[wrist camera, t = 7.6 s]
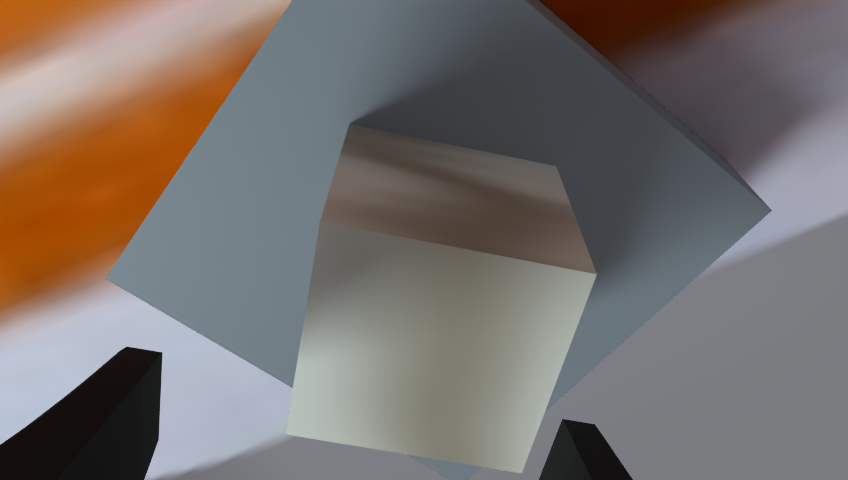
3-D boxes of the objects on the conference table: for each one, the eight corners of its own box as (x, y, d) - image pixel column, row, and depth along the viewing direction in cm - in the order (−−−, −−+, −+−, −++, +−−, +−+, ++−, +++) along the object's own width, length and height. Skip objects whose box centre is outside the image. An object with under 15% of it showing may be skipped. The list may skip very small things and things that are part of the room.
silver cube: (319, 300, 20) (285, 434, 15) (349, 123, 17) (319, 220, 13) (502, 334, 20) (521, 473, 16) (556, 166, 18) (596, 274, 13)
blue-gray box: (144, 225, 22) (105, 278, 19) (385, -131, 17) (377, -126, 15) (458, 418, 25) (461, 486, 23) (728, 163, 21) (771, 210, 18)
